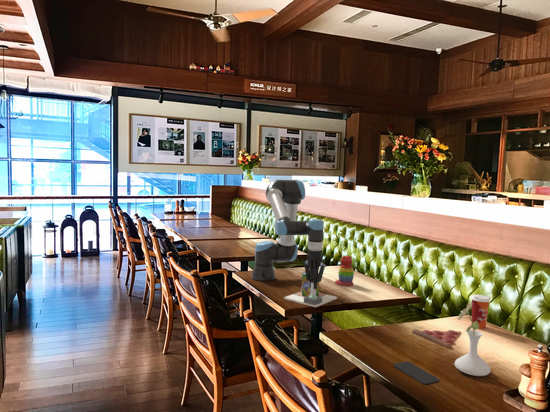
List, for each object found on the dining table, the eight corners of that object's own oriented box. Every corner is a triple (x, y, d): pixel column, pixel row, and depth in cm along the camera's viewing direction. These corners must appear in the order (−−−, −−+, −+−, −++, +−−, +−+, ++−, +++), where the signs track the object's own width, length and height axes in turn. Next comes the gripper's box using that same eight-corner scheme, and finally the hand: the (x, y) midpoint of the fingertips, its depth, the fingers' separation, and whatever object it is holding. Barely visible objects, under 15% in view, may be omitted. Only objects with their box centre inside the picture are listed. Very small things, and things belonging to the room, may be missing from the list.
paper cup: (482, 331, 185) (484, 300, 184) (465, 325, 191) (467, 295, 190) (491, 327, 189) (493, 297, 188) (475, 322, 195) (477, 293, 194)
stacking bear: (348, 281, 264) (350, 253, 263) (357, 285, 255) (358, 257, 253) (333, 282, 260) (334, 254, 259) (341, 287, 251) (342, 257, 250)
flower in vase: (468, 361, 153) (472, 294, 151) (497, 375, 143) (502, 303, 141) (443, 368, 147) (448, 298, 145) (472, 383, 137) (477, 308, 135)
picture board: (284, 299, 222) (284, 292, 222) (306, 291, 239) (306, 285, 239) (315, 307, 210) (315, 300, 210) (336, 298, 226) (337, 292, 226)
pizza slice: (411, 329, 180) (442, 322, 190) (411, 334, 180) (442, 327, 190) (448, 344, 164) (480, 336, 174) (447, 350, 164) (479, 342, 174)
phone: (424, 384, 134) (392, 364, 147) (424, 386, 134) (391, 366, 148) (441, 380, 137) (407, 360, 151) (440, 382, 137) (407, 363, 151)
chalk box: (318, 296, 225) (320, 269, 224) (301, 296, 225) (302, 269, 224) (317, 292, 234) (318, 266, 233) (301, 291, 234) (302, 265, 233)
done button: (307, 300, 215) (307, 296, 215) (311, 299, 218) (311, 294, 218) (314, 302, 212) (314, 297, 212) (318, 300, 215) (319, 296, 215)
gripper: (300, 248, 214) (298, 293, 216) (321, 252, 206) (319, 299, 208) (308, 246, 220) (306, 290, 222) (329, 250, 212) (327, 295, 214)
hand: (313, 294), depth 215 cm, fingers closed
